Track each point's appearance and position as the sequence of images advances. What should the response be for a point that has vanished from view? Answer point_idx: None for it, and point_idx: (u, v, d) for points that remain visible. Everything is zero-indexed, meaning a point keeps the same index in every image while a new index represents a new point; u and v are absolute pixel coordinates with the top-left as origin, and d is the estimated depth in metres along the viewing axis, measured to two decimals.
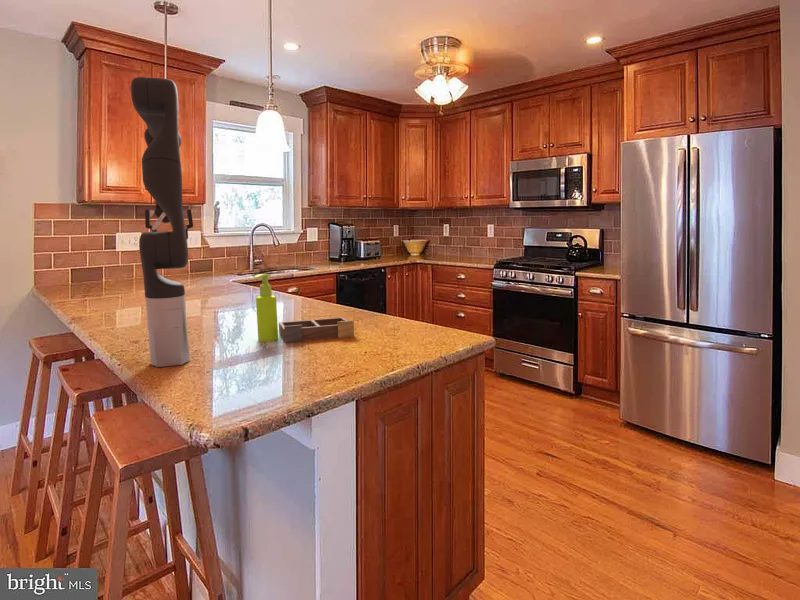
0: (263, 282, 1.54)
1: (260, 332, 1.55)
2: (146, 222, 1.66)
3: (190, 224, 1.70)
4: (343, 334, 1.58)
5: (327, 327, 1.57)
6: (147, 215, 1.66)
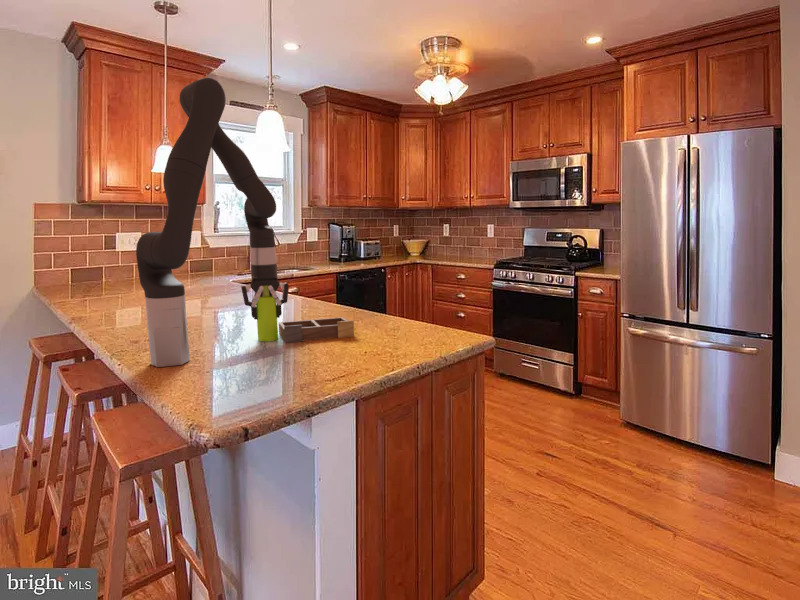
0: None
1: (260, 332, 1.55)
2: (245, 299, 1.52)
3: (284, 299, 1.56)
4: (343, 334, 1.58)
5: (327, 327, 1.57)
6: (244, 292, 1.52)
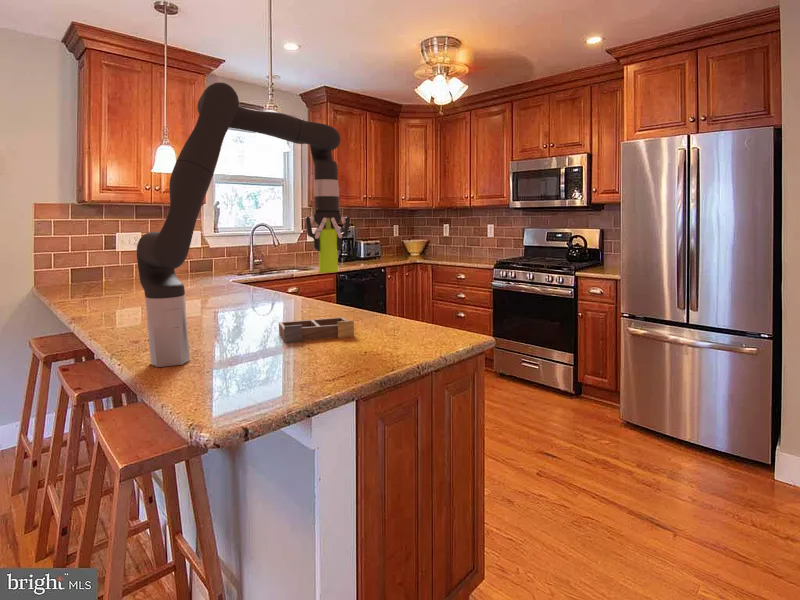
0: None
1: (322, 263, 1.59)
2: (309, 230, 1.56)
3: (345, 232, 1.60)
4: (343, 334, 1.58)
5: (327, 327, 1.57)
6: (308, 223, 1.56)
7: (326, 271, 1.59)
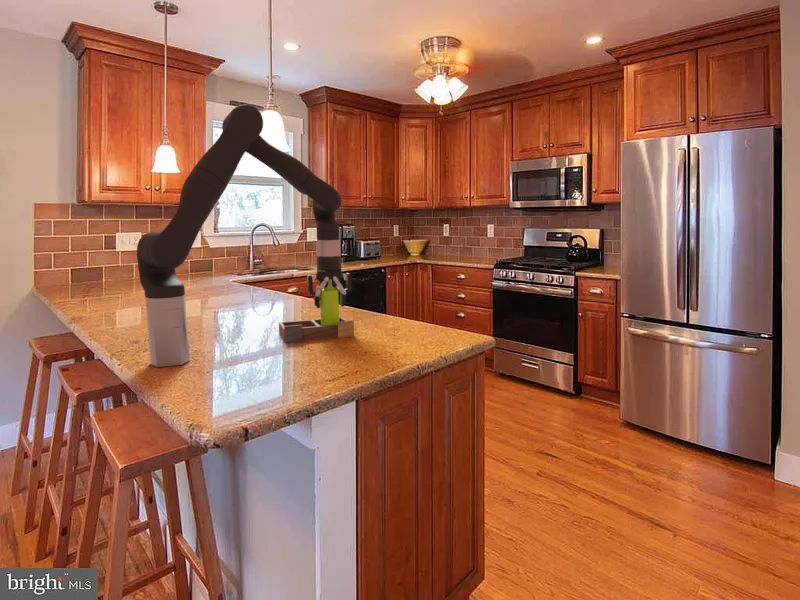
0: None
1: (324, 323, 1.62)
2: (310, 288, 1.59)
3: (349, 289, 1.63)
4: (343, 334, 1.58)
5: (327, 327, 1.57)
6: (310, 281, 1.58)
7: None
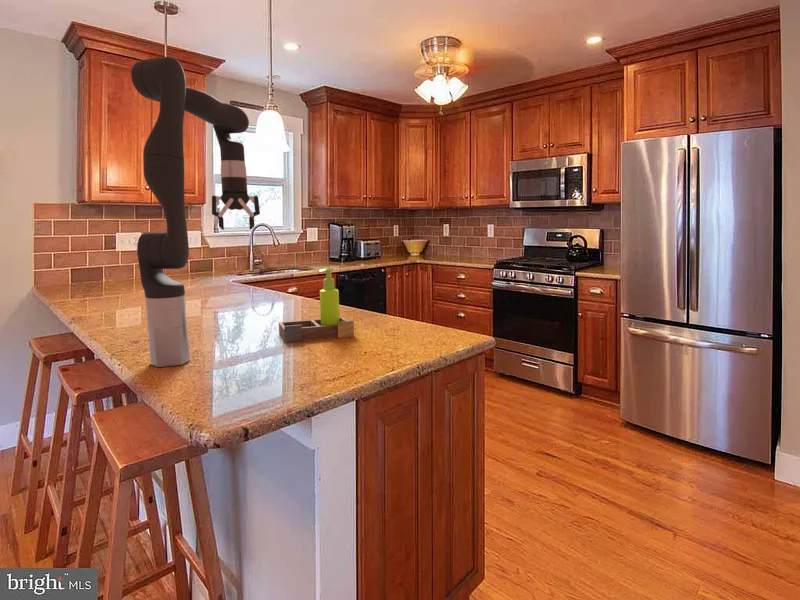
0: (327, 276, 1.61)
1: (324, 323, 1.62)
2: (213, 209, 1.58)
3: (257, 211, 1.63)
4: (343, 334, 1.58)
5: (327, 327, 1.57)
6: (214, 201, 1.58)
7: None
